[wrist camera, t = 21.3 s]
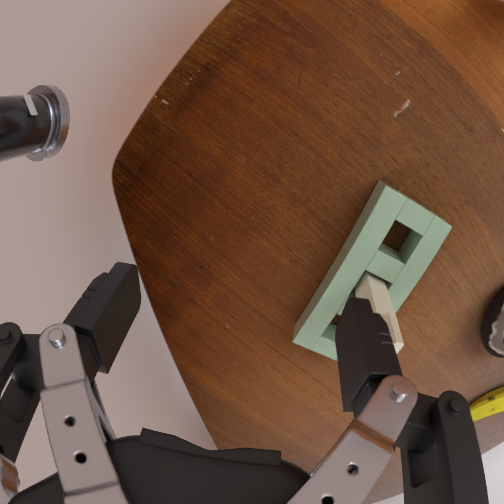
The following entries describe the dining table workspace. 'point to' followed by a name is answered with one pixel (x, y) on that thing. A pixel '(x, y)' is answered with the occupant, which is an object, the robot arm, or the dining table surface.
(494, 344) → the donut
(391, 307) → the cream offset-tab post
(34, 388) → the robot arm
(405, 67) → the dining table surface
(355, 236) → the caddy
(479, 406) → the banana
